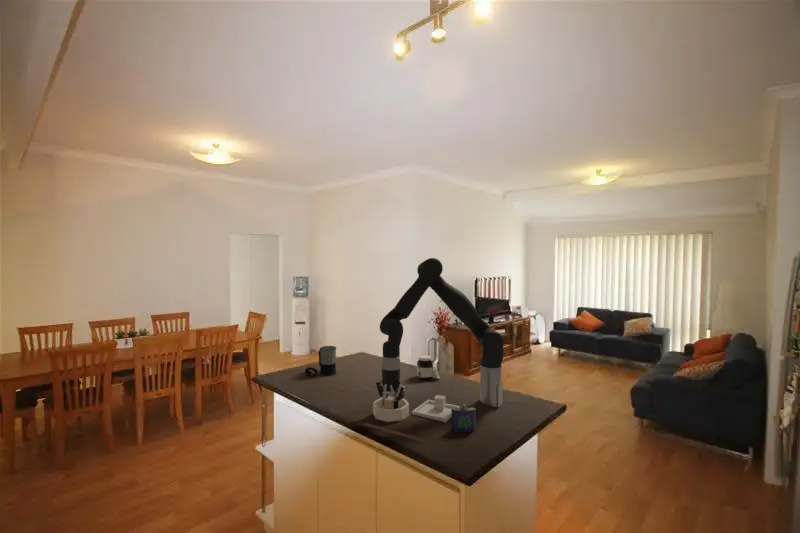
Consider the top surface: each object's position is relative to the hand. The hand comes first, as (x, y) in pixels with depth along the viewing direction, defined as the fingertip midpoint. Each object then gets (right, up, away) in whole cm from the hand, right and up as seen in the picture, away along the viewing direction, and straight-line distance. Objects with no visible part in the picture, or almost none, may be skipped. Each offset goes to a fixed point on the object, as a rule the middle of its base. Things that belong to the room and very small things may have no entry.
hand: (390, 408), depth 154 cm
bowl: (0, -3, 0) cm, 3 cm away
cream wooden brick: (0, -1, 0) cm, 1 cm away
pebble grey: (+21, -2, +6) cm, 22 cm away
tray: (+19, -3, +3) cm, 20 cm away
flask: (+28, -4, -14) cm, 31 cm away
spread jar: (+20, -3, +50) cm, 54 cm away
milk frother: (-41, -3, +56) cm, 70 cm away
